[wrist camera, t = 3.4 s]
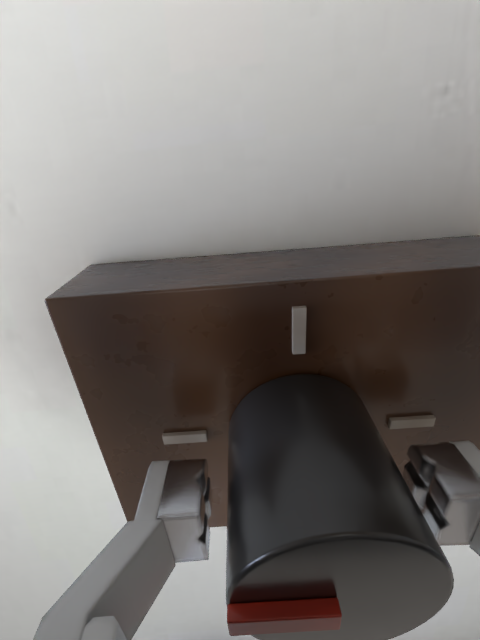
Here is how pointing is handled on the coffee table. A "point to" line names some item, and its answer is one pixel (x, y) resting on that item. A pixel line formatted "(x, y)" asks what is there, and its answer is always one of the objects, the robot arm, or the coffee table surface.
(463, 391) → the panel
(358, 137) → the coffee table surface
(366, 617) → the knob
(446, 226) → the coffee table surface
